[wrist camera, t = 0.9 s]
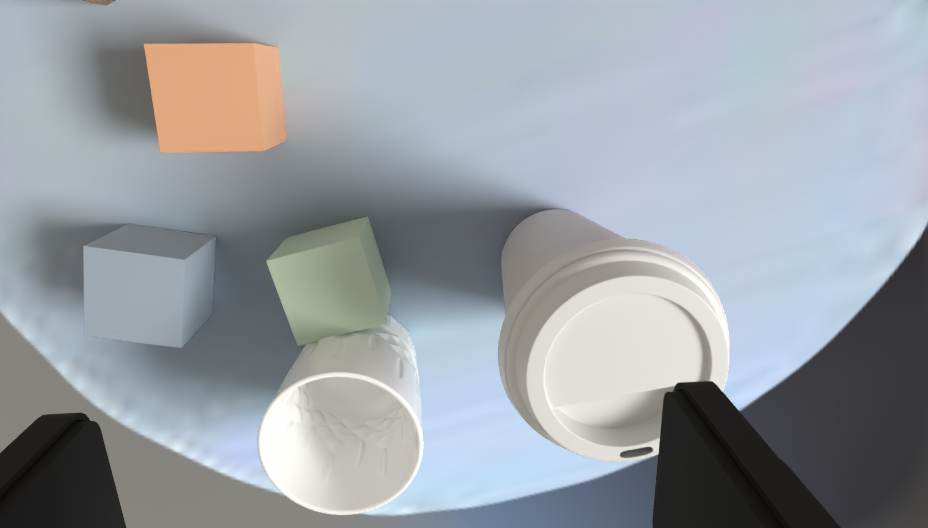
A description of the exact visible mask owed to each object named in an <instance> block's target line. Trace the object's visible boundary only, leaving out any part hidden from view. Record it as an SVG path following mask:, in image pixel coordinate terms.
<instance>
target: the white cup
mask: <svg viewBox="0 0 928 528" xmlns="http://www.w3.org/2000/svg"><path fill="white" fill-rule="evenodd" d="M258 452H259V457H260V461H261V464H262V466H263V468H264V470H265V472H266V474H267V476H268V477H269V479H270V480H271V482H272V483H273V484H274V485H275V487H276V488H277V489H278V490H279V491H280V492H282V493H283V494H284V495H285V496H286V497H288V498H289V499H291V500H292V501H294V502H296V503H297V504H299V505H301V506H303V507H306V508H308V509H311V510H314V511H318V512H321V513H326V514H334V515H349V514H358V513H363V512H367V511H371V510H374V509H376V508H379V507H381V506H383V505H385V504H387V503H388V502H390V501H392V500H393V499H395V498H396V497H397V496H398V495H400V494H401V493H402V492H403V491H404V490H405V489H406V488H407V487H408V485H409V484H410V483H411V481H412V480H413V478H414V477H415V475H416V473H417V471H418V469H419V466H420V463H421V459H422V454H423V431H422V413H421V395H420V386H419V375H418V369H417V364H416V351H415V349H414V346H413V343H412V341H411V338H410V335H409V333H408V331H407V330H406V329H405V328H404V327H403V326H402V325H401V324H400V323H398V322H397V321H396V320H395V319H394V318H393V317H392V316H391V315H388V317H387V323H386V324H382V325H378V326H374V327H371V328H367V329H363V330H359V331H355V332H351V333H347V334H343V335H339V336H335V335H333V336H329V337H326V338H323V339H321V340H319V341H316V342H312V343H308V344H306V345H305V347H304V348H303V350H302V352H301V353H300V355H299V356H298V357H297V359H296V361H295V363H294V364H293V365H292V367H291V368H290V370H289V372H288V373H287V375H286V377H285V379H284V381H283V382H282V384H281V386H280V388H279V389H278V391H277V393H276V394H275V396H274V398H273V399H272V401H271V403H270V405H269V406H268V408H267V410H266V411H265V413H264V415H263V418H262V420H261V423H260V426H259V431H258Z"/></svg>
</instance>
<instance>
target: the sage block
mask: <svg viewBox="0 0 928 528" xmlns="http://www.w3.org/2000/svg"><path fill="white" fill-rule="evenodd" d="M266 262H267V265H268V268H269V271H270V273H271V276H272V279H273V281H274V284H275V287H276V289H277V292H278V295H279V298H280V300H281V303H282V306H283V308H284V311H285V314H286V317H287V319H288V322H289V325H290V327H291V330H292V333H293V335H294V338H295V341H296V344H297V346H300V345H304V344H308V343H312V342H316V341H319V340H321V339H323V338H326V337H329V336H333V335H335V336H339V335H343V334H347V333H351V332H355V331H359V330H363V329H367V328H371V327H374V326H378V325H382V324H386V323H387V317H388V312H389V306H390V300H391V295H392V291H391V288H390V285H389V282H388V278H387V275H386V272H385V269H384V265H383V262H382V259H381V256H380V253H379V249H378V246H377V243H376V240H375V236H374V233H373V230H372V227H371V223H370V220H369V217H368V216H366V217H362V218H358V219H355V220H351V221H347V222H343V223H339V224H335V225H332V226H328V227H324V228H320V229H316V230H313V231H309V232H305V233H301V234H297V235H293V236H290V237H287V238H286V239H285V240H284V241H283V242H282V243H281V245H280V246H279V247H278V248H277V249H276V250H275V251H274V253H273V254H272V255H271V256H270V257H269V258H268V259H267V261H266Z"/></svg>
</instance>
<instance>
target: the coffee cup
mask: <svg viewBox="0 0 928 528" xmlns="http://www.w3.org/2000/svg"><path fill="white" fill-rule="evenodd" d="M501 272H502V282H503V293H504V304H505V315H506V316H505V319H504V322H503V325H502V328H501V333H500V338H499V345H498V364H499V371H500V376H501V380H502V383H503V386H504V389H505V391H506V394H507V396H508V398H509V400H510V401H511V403H512V405H513V406H514V408H515V409H516V410H517V412H518V413H519V414H520V415H521V417H522V418H523V419H524V420H525V421H526V422H527V423H528V424H529V425H530V426H531V427H532V428H533V429H534V430H535V431H537V432H538V433H539V434H540V435H542V436H543V437H545V438H546V439H548V440H550V441H551V442H553V443H555V444H556V445H558V446H560V447H563V448H565V449H567V450H570V451H572V452H574V453H576V454H579V455H581V456H584V457H587V458H591V459H595V460H600V461H609V462H625V461H634V460H639V459H644V458H648V457H651V456H654V455H657V454H659V443H660V431H661V420H662V409H663V399H664V395H665V393H666V392H673V390H674V387H675V385H676V384H677V383H679V382H699V381H713V382H714V383H715V384H716V385H717V386H718V387H719V388H720V389H721V391H722V392H723V390H724V387H725V384H726V380H727V376H728V369H729V347H730V342H729V330H728V323H727V318H726V314H725V311H724V308H723V306H722V303H721V301H720V299H719V297H718V294H717V293H716V291H715V289H714V287H713V285H712V284H711V282H710V281H709V279H708V278H707V277H706V276H705V274H704V273H703V272H702V271H701V270H700V269H699V268H698V267H697V266H696V265H695V264H694V263H692V262H691V261H690V260H689V259H687V258H686V257H684V256H683V255H681V254H680V253H678V252H676V251H674V250H672V249H670V248H668V247H665V246H662V245H660V244H656V243H653V242H649V241H644V240H637V239H625V238H623V237H621V236H620V235H618V234H616V233H614V232H612V231H610V230H608V229H606V228H604V227H602V226H600V225H599V224H597V223H595V222H593V221H591V220H589V219H587V218H585V217H583V216H582V215H580V214H577V213H575V212H572V211H568V210H563V209H550V210H544V211H540V212H537V213H535V214H533V215H531V216H529V217H527V218H525V219H524V220H523V221H521V222H520V223H519V224H518V225H517V226H516V227H515V228H514V229H513V230H512V232H511V233H510V235H509V236H508V238H507V240H506V242H505V244H504V247H503V250H502V256H501Z"/></svg>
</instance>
